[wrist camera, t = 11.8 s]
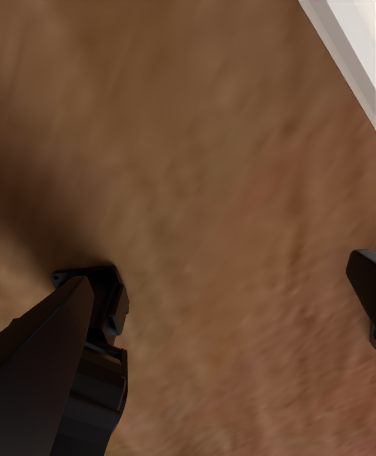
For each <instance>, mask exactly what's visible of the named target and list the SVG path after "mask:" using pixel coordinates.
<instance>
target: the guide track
mask: <svg viewBox="0 0 376 456" xmlns="http://www.w3.org/2000/svg"><path fill="white" fill-rule="evenodd" d="M298 1H299V3H300V4H301V6H302V8H303V9H304V11H305V13H306V14H307V16H308V18H309V19H310V21H311V23H312V24H313V26H314V28H315V29H316V31H317V33H318V34H319V36H320V38H321V39H322V41H323V43H324V44H325V46H326V48H327V49H328V51H329V53H330V54H331V56H332V58H333V59H334V61H335V63H336V64H337V66H338V68H339V70H340V71H341V73H342V75H343V76H344V78H345V80H346V81H347V83H348V85H349V86H350V88H351V90H352V91H353V93H354V95H355V96H356V98H357V100H358V101H359V103H360V105H361V106H362V108H363V110H364V111H365V113H366V115H367V116H368V118H369V120H370V121H371V123H372V125H373V126H374V128H375V130H376V0H298Z"/></svg>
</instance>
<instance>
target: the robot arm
mask: <svg viewBox="0 0 376 456" xmlns="http://www.w3.org/2000/svg"><path fill="white" fill-rule="evenodd" d="M110 270H112V271H113V272H111V271H110ZM346 274H347V277H348V279H349V281H350V283H351V285H352V287H353V289H354V290H355V292H356V294H357V296H358V298H359V300H360V302H361V304H362V306H363V307H364V309H365V311H366V313H367V315H368V316H369V318H370V320H371V321H372V323H373V324H374V326H375V327H376V253H375V252H373V251H370V250H367V249H360V250H353V251H352V252H351V254H350V257H349V260H348V264H347V268H346ZM56 276H58V277H56ZM51 279H52V281H53V283H54V285H55V287H56V290H55V291H54V292H53V293H51V294H50V295H49V296H47V297H46V298H45V299H43V300H42V301H41V302H40V303H38V304H37V305H36V306H34V307H33V308H32V309H30V310H29V311H28V312H26V313H25V314H24V315H22V316H21V317H20V318H15V319H13V320H12V322H11V323H10V324H9V326H8V327H6V328H5V329H4V330H3V331H1V332H0V456H104V453H105V450H106V447H107V444H108V442H109V439H110V436H111V434H112V433H113V431H114V430H115V428H116V426H117V424H118V423H119V420H120V418H121V416H122V413H123V410H124V407H125V404H126V399H127V393H128V366H127V350H125V349H122V348H121V349H119V348H117V347H115V346H113V345H114V341H115V338H116V336H119V335H120V334H121V333H122V330H123V326H124V322H125V318H126V314H128V313H129V306H128V305H129V299H128V296H127V293H126V289H125V286H124V285H123V284H122V283H121V281H120V277H119V274H118V271H117V269H116V267H114V266H104V267H93V268H83V269H73V270H63V271H55V272H53V273H52V275H51Z"/></svg>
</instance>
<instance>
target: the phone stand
mask: <svg viewBox="0 0 376 456" xmlns="http://www.w3.org/2000/svg"><path fill="white" fill-rule="evenodd" d="M370 343H371V345H372V346H373V347H374V348H375V349H376V327H375V326H374V324H373V323H372V321H371V333H370Z"/></svg>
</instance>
